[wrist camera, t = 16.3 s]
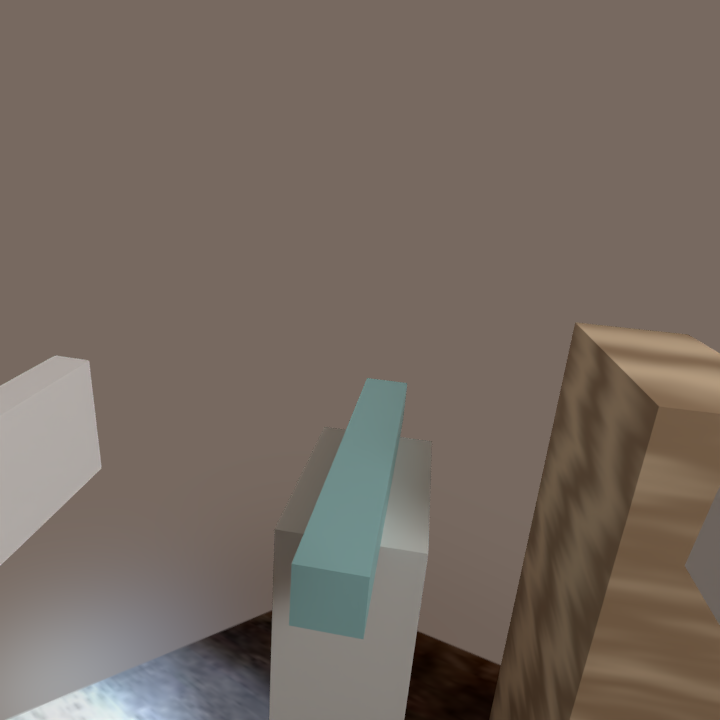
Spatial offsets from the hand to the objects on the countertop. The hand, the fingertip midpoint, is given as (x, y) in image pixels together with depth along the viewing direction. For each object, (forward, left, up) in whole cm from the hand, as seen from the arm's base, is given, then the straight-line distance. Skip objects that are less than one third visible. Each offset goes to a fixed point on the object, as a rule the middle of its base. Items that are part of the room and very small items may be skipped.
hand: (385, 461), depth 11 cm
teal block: (-6, +20, -14) cm, 25 cm away
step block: (-6, +22, -40) cm, 46 cm away
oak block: (+10, +20, -40) cm, 46 cm away
